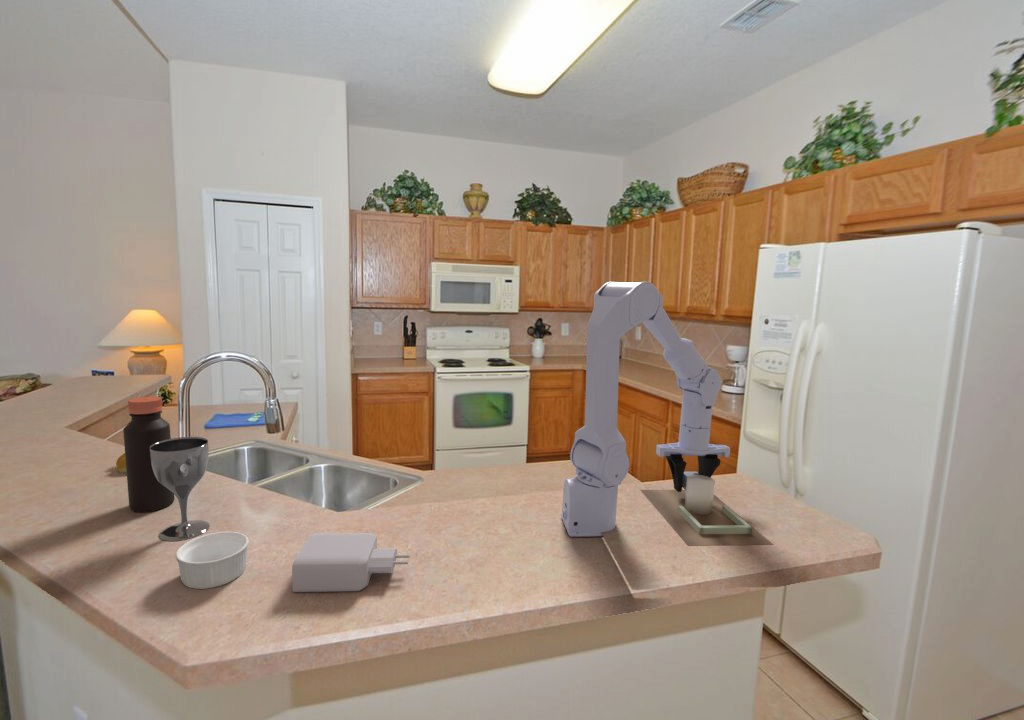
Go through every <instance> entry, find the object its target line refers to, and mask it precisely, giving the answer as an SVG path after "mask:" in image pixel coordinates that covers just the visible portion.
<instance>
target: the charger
mask: <svg viewBox="0 0 1024 720" xmlns="http://www.w3.org/2000/svg"><path fill="white" fill-rule="evenodd" d="M410 557H411V555H410V554H398V549H397V548H378V537H377V536H376V535H375V534H373V533H372V532H350V533H349V532H346V533H345V532H342V533H341V532H335V533H334V532H327V533H326V532H325V533H324V532H323V533H320V532H319V533H317V532H316V533H315V532H314V533H311V534H310V535H309V536H308V538H307V539H306V541H305V542H304V544H303V545H302V547H301V549H300V550H299V552H298V553H297V554H296V556H295V558H294V560H293V562H292V567H291V582H292V583H291V584H292V587H291V588H292V592H293V593H315V592H316V593H318V592H319V593H322V592H325V593H326V592H330V593H331V592H360V591H362V590H363V589H365V588H366V587H367V586H369V583H370V580H371V577H372V574H392V573H393V572H394V570H395V566H396V565H409V561H408V560H397V559H409V558H410Z"/></svg>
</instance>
